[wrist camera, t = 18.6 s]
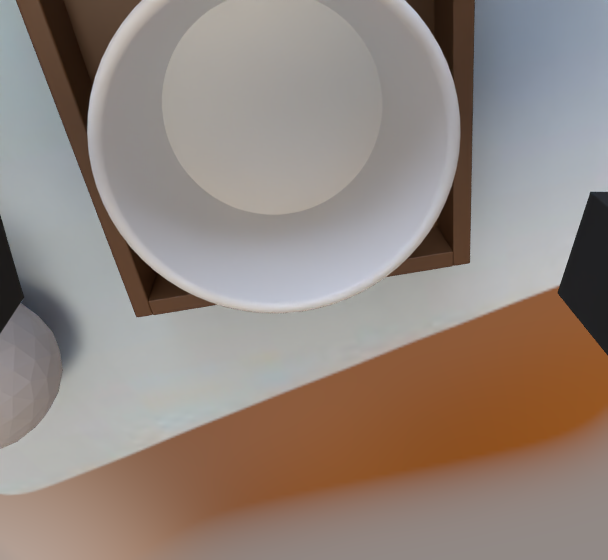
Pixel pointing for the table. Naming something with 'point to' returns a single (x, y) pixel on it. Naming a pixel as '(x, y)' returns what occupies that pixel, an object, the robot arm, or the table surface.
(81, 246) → the table surface
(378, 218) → the food container
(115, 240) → the tray
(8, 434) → the perfume bottle
